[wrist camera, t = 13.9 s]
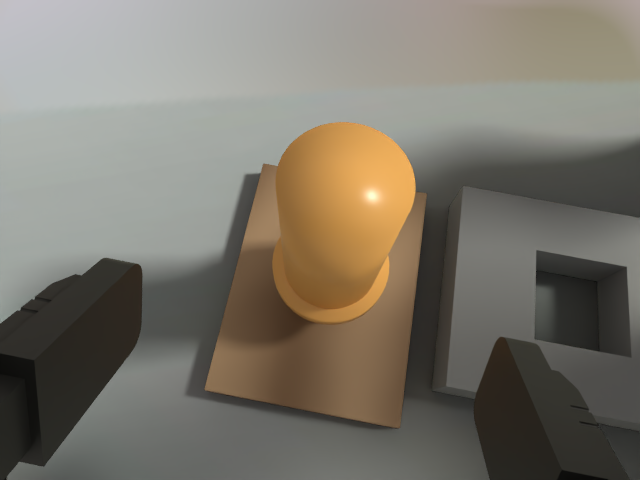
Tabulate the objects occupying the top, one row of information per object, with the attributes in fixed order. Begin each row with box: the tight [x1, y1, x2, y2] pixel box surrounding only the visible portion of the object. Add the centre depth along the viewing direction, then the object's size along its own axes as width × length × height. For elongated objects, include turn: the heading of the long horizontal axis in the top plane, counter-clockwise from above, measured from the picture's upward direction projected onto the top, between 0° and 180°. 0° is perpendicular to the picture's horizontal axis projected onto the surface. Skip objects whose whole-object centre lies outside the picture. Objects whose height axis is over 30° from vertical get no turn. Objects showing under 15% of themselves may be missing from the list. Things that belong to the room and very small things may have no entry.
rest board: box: [204, 164, 427, 428], centre depth 25 cm, size 9×12×1 cm
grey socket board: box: [432, 186, 640, 431], centre depth 24 cm, size 16×10×3 cm, turn 80°
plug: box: [272, 122, 415, 325], centre depth 19 cm, size 5×5×11 cm
